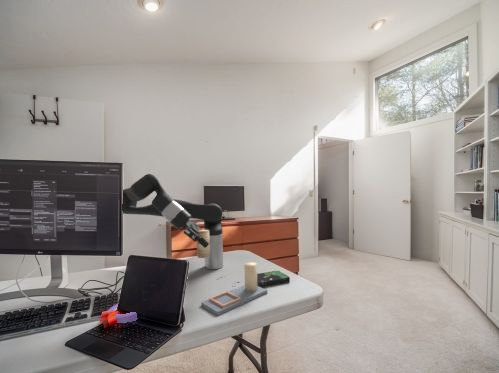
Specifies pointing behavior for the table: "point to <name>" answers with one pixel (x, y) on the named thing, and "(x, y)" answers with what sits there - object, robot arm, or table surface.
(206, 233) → the maple column
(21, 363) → the table surface
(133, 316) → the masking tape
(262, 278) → the disk drive
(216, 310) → the base plate
